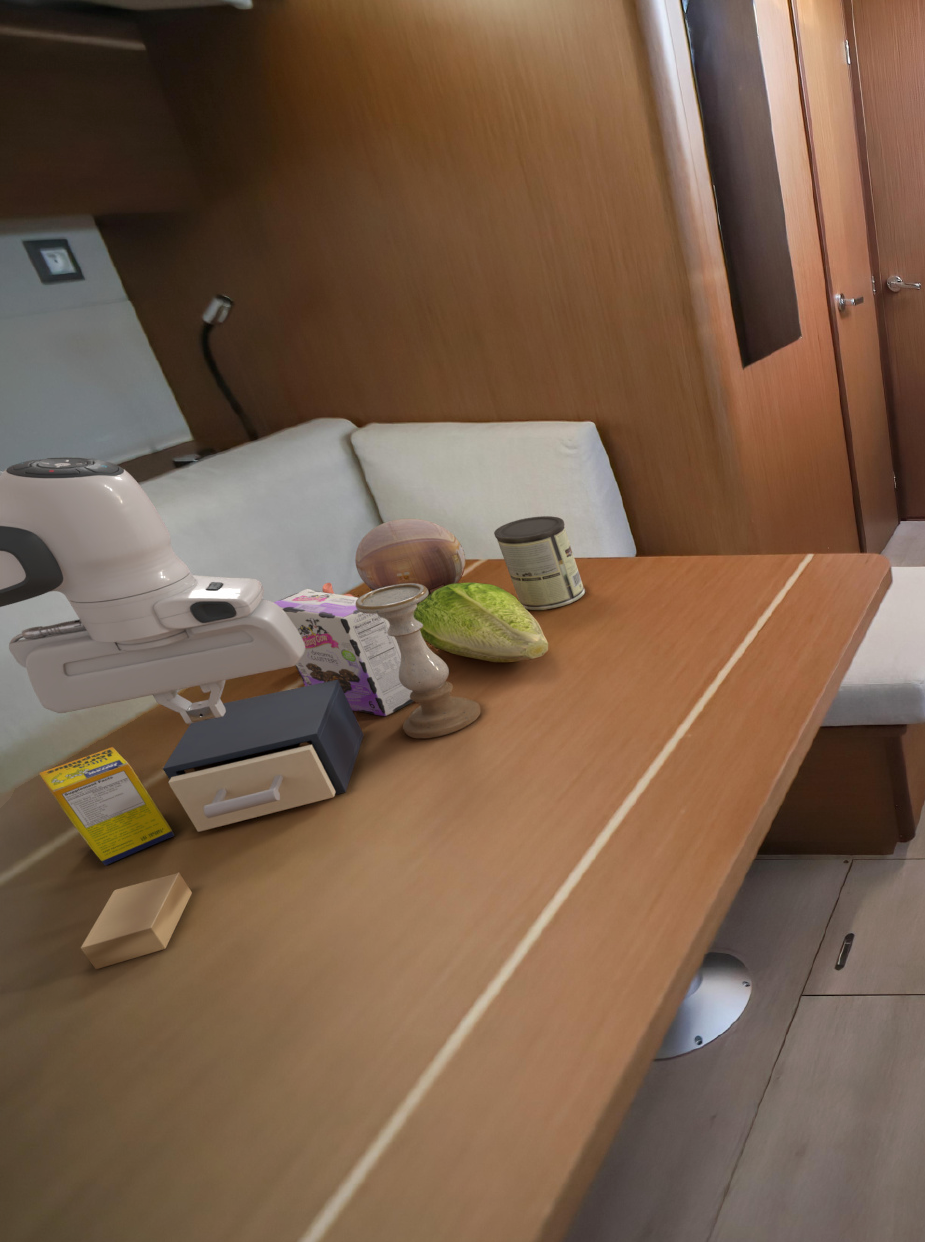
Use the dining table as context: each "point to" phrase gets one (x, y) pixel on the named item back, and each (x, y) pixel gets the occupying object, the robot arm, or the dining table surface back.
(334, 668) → the candy box
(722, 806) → the dining table surface
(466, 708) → the candle holder
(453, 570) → the ornament
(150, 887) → the wooden rectangular block
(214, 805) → the drawer
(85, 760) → the supplement box
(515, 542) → the coffee can
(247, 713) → the cabinet
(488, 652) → the lettuce
